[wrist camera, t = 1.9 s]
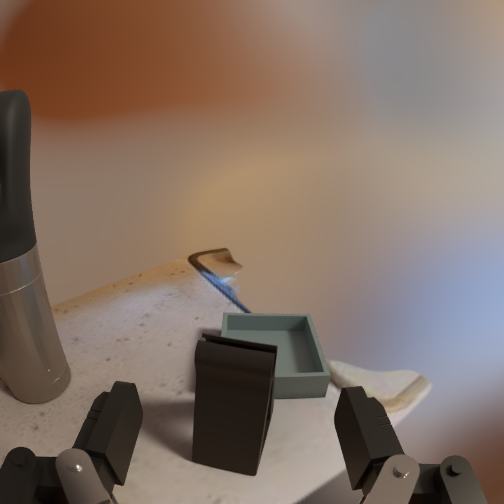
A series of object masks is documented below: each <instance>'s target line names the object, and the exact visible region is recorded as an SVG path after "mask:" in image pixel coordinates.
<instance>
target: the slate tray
mask: <svg viewBox="0 0 504 504" xmlns="http://www.w3.org/2000/svg"><path fill="white" fill-rule="evenodd" d="M221 336H222V337H227V338H233V339H239V340H245V341H251V342H258V343H264V344H271V345H277V346H278V350H277V359H276V368H275V387H274V399H294V398H316V397H325V395H326V391H327V388H328V384H329V380H330V376H331V375H330V372H329V369H328V366H327V363H326V360H325V357H324V354H323V351H322V348H321V345H320V342H319V339H318V336H317V333H316V331H315V327H314V325H313V322H312V319H311V316H310V314H257V313H223V321H222V331H221Z"/></svg>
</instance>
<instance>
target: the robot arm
mask: <svg viewBox="0 0 504 504" xmlns="http://www.w3.org/2000/svg"><path fill="white" fill-rule="evenodd" d="M30 143H31V109H30V103H29V100H28V96H27V95H26V93H25V92H24V91H22V90H8V91H2V92H0V377H1V379H2V381H3V383H4V385H5V386H6V387H9V388H10V390H11V392H12V394H13V395H14V396H15V397H16V398H17V399H19V400H20V401H23V402H25V403H31V404H36V403H43V402H47V401H49V400H52V399H54V398H55V397H57V396H59V395H60V394H61V393H62V392H63V391H64V390H65V389H66V387H67V386H68V384H69V382H70V378H71V373H70V369H69V366H68V363H67V360H66V357H65V354H64V351H63V348H62V345H61V342H60V339H59V335H58V332H57V329H56V325H55V322H54V318H53V315H52V311H51V307H50V303H49V299H48V295H47V291H46V287H45V282H44V278H43V273H42V268H41V263H40V258H39V253H38V246H37V241H36V235H35V229H34V221H33V212H32V203H31V191H30ZM142 419H143V411H142V406H141V403H140V399H139V395H138V392H137V388H136V385H135V384H134V383H128V382H121V381H116V382H115V383H114V385H113V387H112V389H111V391H110V392H103V393H101V394H100V395H99V396H98V397H97V398H96V399H95V400H94V402H93V404H92V406H91V408H90V411H89V413H88V415H87V419H85V421H84V423H83V426H82V428H81V430H80V432H79V434H78V436H77V439H76V441H75V443H74V445H73V447H72V448H71V449H67V450H65V451H63V452H61V453H60V454H59V455H58V457H37V456H35V454H34V453H33V452H32V451H31V450H30V449H28V448H25V447H17V448H14V449H12V450H11V451H10V452H9V453H8V454H7V456H6V458H5V460H4V462H3V465H2V467H1V469H0V504H119V503H118V502H117V500H116V498H115V496H114V494H113V492H112V491H113V488H114V484H117V485H121V486H124V483H125V479H126V476H127V472H128V468H129V465H130V461H131V458H132V454H133V451H134V447H135V444H136V440H137V437H138V434H139V430H140V427H141V424H142ZM334 424H335V429H336V432H337V436H338V439H339V443H340V446H341V450H342V454H343V457H344V461H345V464H346V468H347V472H348V475H349V479H350V483H351V487H352V490H358V489H362V492H363V496H362V498H361V500H360V502H359V504H487V501H486V499H485V496H484V494H483V492H482V489H481V487H480V485H479V483H478V480H477V478H476V476H475V474H474V471H473V469H472V467H471V465H470V463H469V462H468V461H467V460H466V459H465V458H463V457H461V456H456V455H455V456H450V457H447V458H445V459H444V461H443V462H442V463H441V464H419V463H417V461H416V460H415V459H413V458H411V457H410V456H407V455H405V454H404V452H403V450H402V447H401V445H400V443H399V440H398V438H397V436H396V434H395V431H394V429H393V427H392V425H391V422H390V420H389V418H388V417H387V414H386V411H385V409H384V407H383V405H382V404H381V403H380V402H379V401H378V400H377V399H375V398H374V397H371V398H367V396H366V393H365V391H364V389H363V387H362V386H357V387H347V388H343V389H342V390H341V394H340V397H339V401H338V404H337V407H336V411H335V415H334Z"/></svg>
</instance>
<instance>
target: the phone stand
mask: <svg viewBox="0 0 504 504" xmlns="http://www.w3.org/2000/svg"><path fill="white" fill-rule="evenodd" d="M202 337H204V338H205V339H206V342H205V341H200V340H198V343H197V346H196V350H195V367H196V390H195V408H194V427H193V452H192V461H196V462H199V463H203V464H207V465H211V466H215V467H219V468H223V469H227V470H232V471H236V472H241V473H246V474H251V475H256V474H257V470H258V466H259V463H260V459H261V455H262V452H263V448H264V444H265V440H266V436H267V432H268V428H269V425H270V421H271V417H272V412H273V405H274V387H275V368H276V359H277V350H278V346H277V345H271V344H264V343H258V342H251V341H245V340H239V339H233V338H227V337H222V336H216V335H211V334H206V333H203V334H202Z"/></svg>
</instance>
